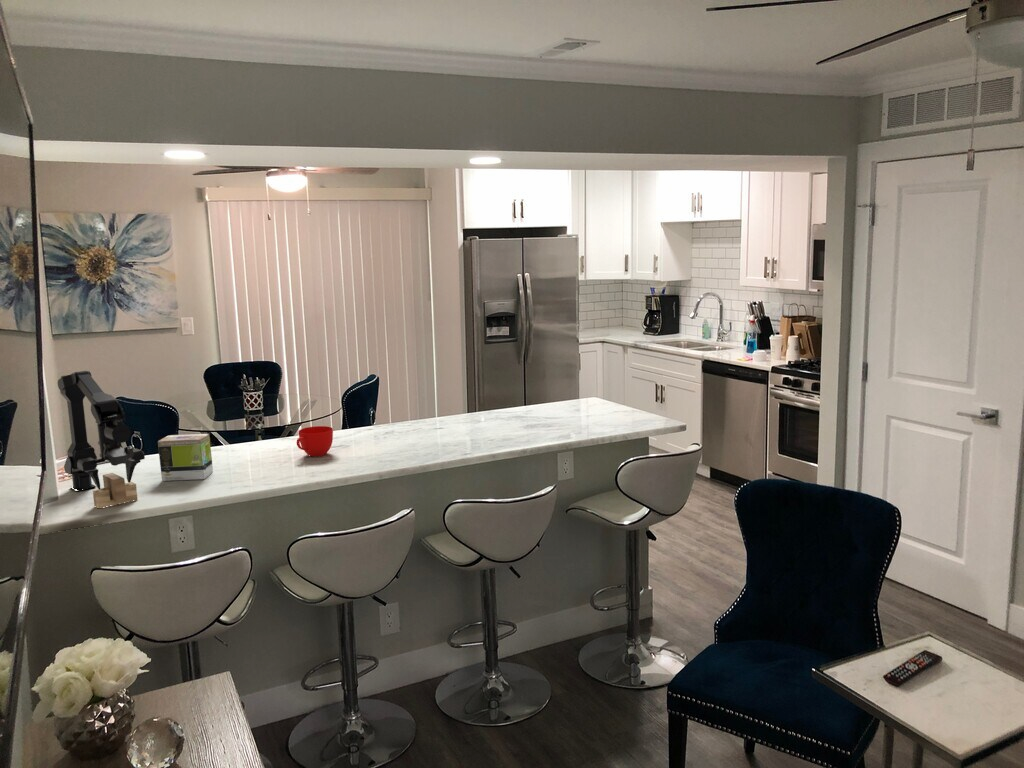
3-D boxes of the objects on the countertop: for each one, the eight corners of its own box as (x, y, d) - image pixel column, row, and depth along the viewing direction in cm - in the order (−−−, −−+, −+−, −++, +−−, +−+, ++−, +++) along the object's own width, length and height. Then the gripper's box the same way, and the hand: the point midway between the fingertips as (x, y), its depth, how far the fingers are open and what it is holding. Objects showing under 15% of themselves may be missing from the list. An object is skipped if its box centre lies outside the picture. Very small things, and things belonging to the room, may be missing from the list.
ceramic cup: (285, 459, 307) (283, 434, 305) (315, 449, 322) (314, 425, 320) (311, 463, 301) (310, 437, 299) (341, 452, 316) (339, 427, 314)
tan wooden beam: (105, 495, 260) (102, 474, 259) (114, 493, 262) (112, 472, 261) (116, 501, 253) (114, 480, 252) (126, 499, 255) (124, 478, 254)
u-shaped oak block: (94, 507, 255) (92, 490, 254) (133, 498, 264) (131, 481, 263) (98, 509, 253) (96, 492, 252) (137, 500, 261) (135, 483, 260)
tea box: (213, 472, 292) (210, 432, 290) (204, 480, 282) (200, 439, 280) (171, 473, 292) (167, 434, 289) (160, 481, 282) (156, 440, 279)
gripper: (86, 447, 242) (92, 497, 245) (149, 436, 256) (154, 483, 258) (73, 442, 250) (79, 490, 253) (135, 431, 263) (140, 477, 266)
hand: (114, 485), depth 257 cm, fingers open, 9 cm apart
